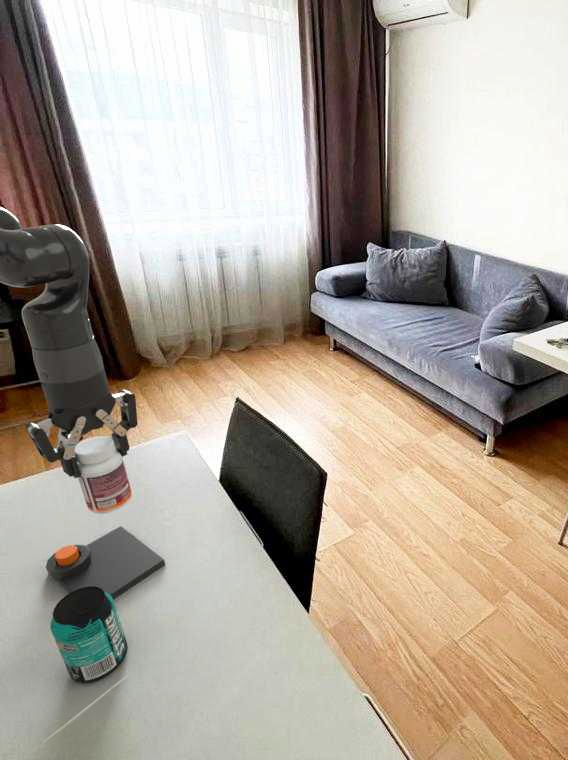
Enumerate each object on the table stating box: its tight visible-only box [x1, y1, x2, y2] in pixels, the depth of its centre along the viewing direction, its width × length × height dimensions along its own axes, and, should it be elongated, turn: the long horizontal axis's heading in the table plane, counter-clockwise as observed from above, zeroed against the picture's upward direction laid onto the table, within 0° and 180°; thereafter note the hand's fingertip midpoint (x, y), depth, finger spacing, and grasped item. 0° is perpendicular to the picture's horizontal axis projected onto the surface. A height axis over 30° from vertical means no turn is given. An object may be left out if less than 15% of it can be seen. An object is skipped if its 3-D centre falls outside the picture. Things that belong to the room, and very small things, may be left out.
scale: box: [45, 525, 166, 601], centre depth 85 cm, size 14×12×3 cm
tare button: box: [55, 544, 79, 566], centre depth 83 cm, size 3×3×2 cm
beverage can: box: [49, 586, 129, 684], centre depth 69 cm, size 7×7×12 cm
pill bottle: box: [73, 435, 133, 515], centre depth 78 cm, size 6×6×11 cm
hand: (99, 464), depth 77 cm, fingers closed on pill bottle, 6 cm apart
